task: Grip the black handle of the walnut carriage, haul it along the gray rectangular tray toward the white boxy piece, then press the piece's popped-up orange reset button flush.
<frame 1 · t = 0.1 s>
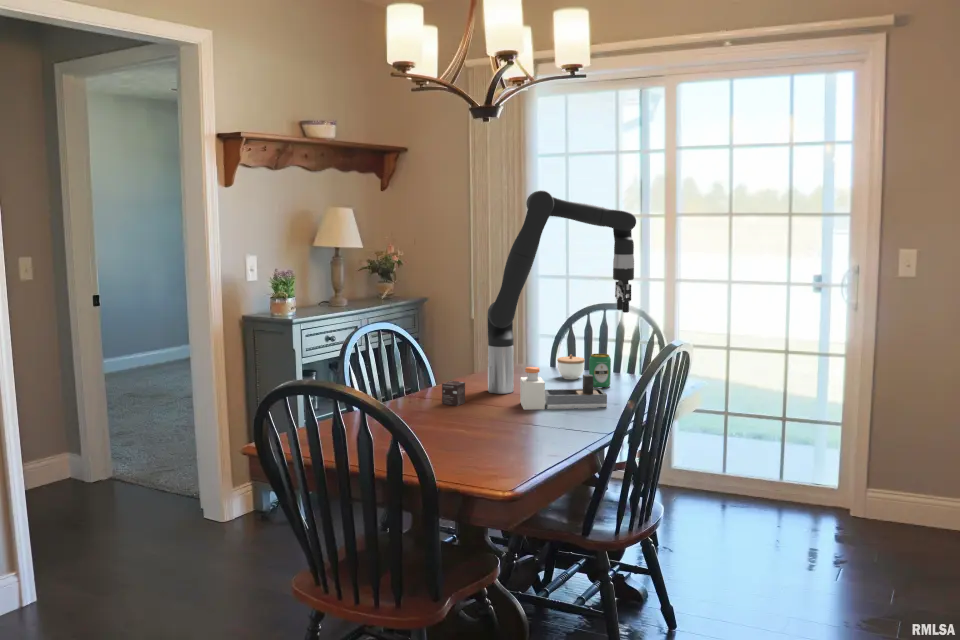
hand: (622, 311, 302), 29 cm above the table, fingers open, 8 cm apart
beverage can: (599, 386, 311), on the table
box: (453, 404, 284), on the table
carriage: (587, 387, 280), point 6 cm above the table, slide at 4.5 cm
white boxy piece: (532, 405, 280), on the table
gray rectangular tray: (574, 405, 280), on the table
reset button: (532, 375, 278), point 11 cm above the table, slide at 2.5 cm
lidded jar: (570, 378, 327), on the table
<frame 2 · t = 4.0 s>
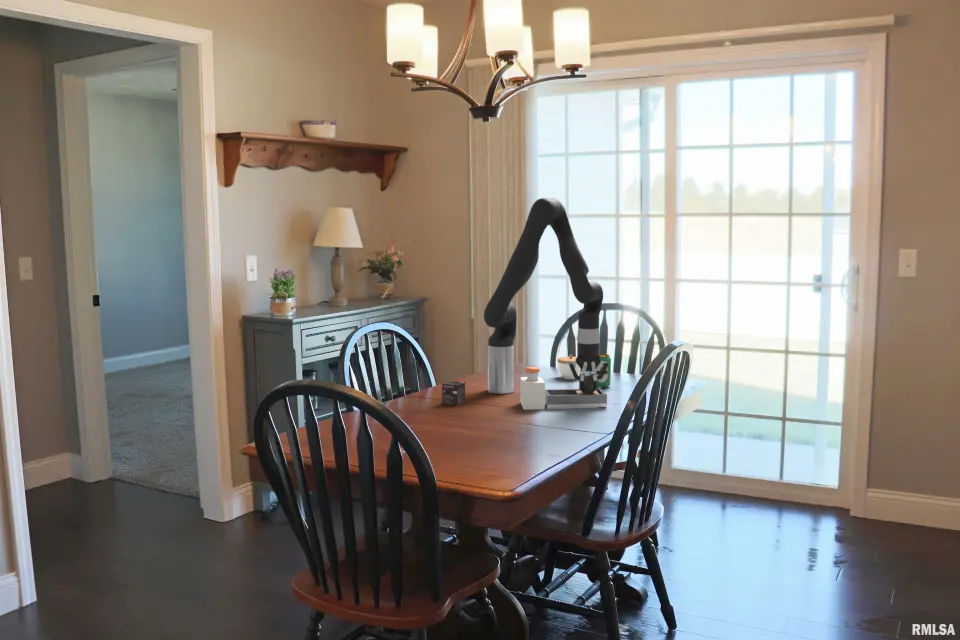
hand: (587, 391, 280), 5 cm above the table, fingers closed on carriage, 3 cm apart
carriage: (587, 387, 280), point 6 cm above the table, slide at 4.5 cm, touching gripper
everything else where it was.
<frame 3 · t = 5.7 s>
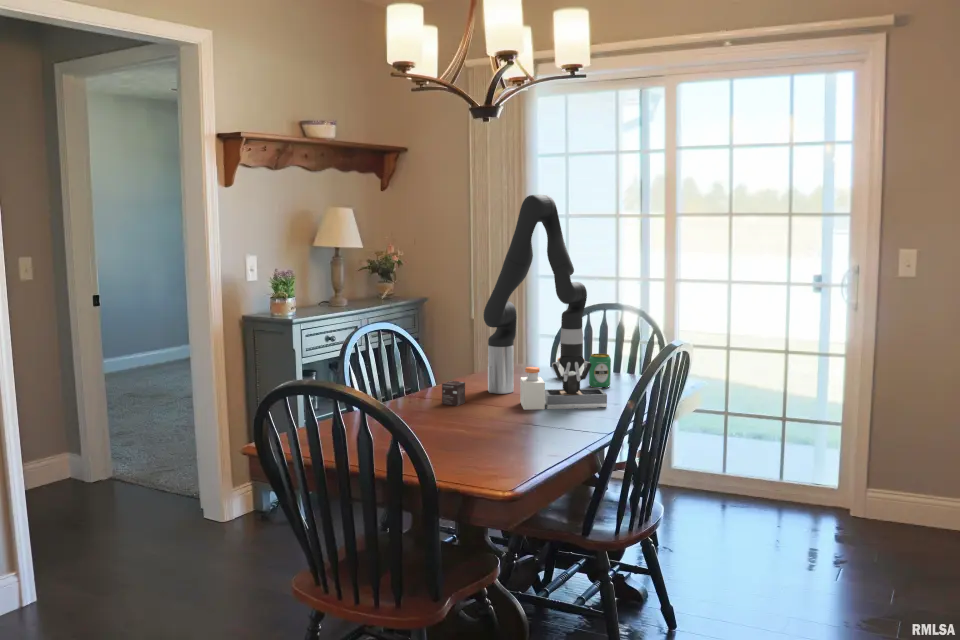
hand: (571, 391, 280), 5 cm above the table, fingers closed on carriage, 3 cm apart
carriage: (571, 387, 280), point 6 cm above the table, slide at -1.2 cm, touching gripper
everything else where it was.
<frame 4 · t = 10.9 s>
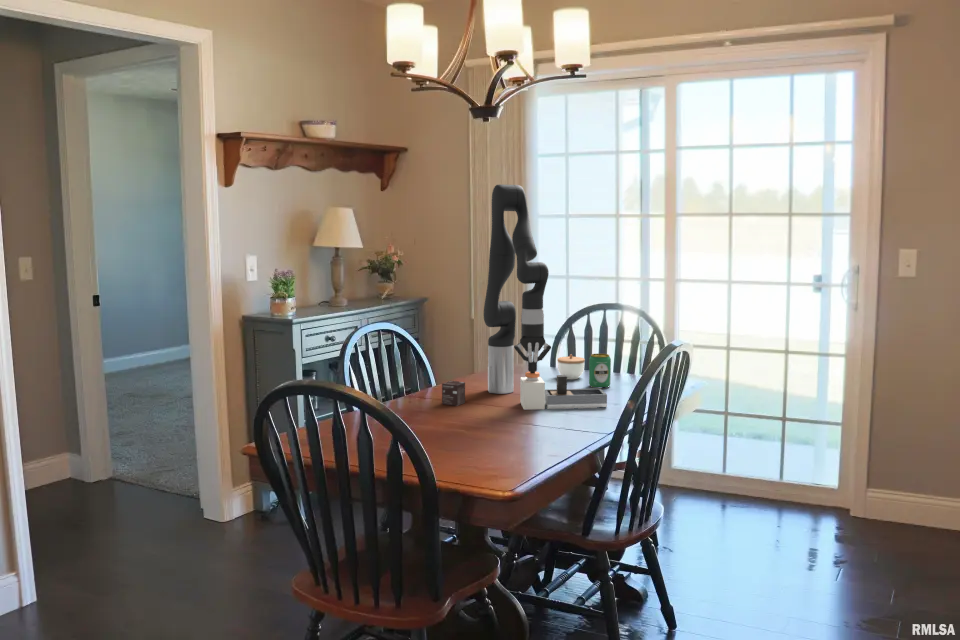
hand: (532, 372, 278), 11 cm above the table, fingers closed
carriage: (561, 388, 279), point 6 cm above the table, slide at -4.5 cm
reset button: (532, 379, 278), point 9 cm above the table, slide at 0.9 cm, touching gripper
everything else where it was.
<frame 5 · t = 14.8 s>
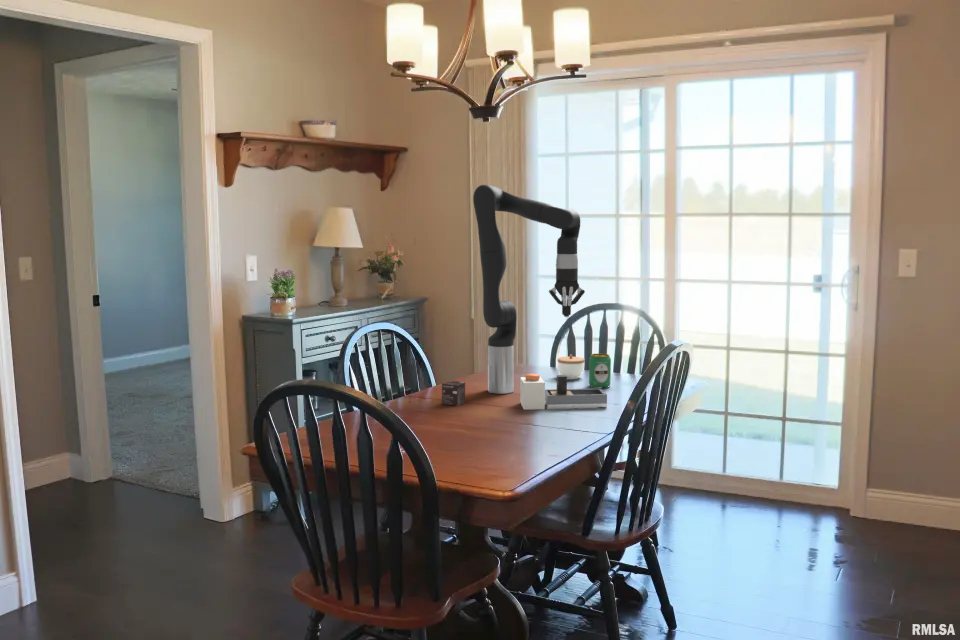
hand: (566, 316, 289), 29 cm above the table, fingers closed
reset button: (532, 382, 278), point 8 cm above the table, slide at 0.1 cm
everything else where it was.
at the end: carriage slide at -4.5 cm; reset button slide at 0.1 cm; the gripper is holding nothing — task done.
